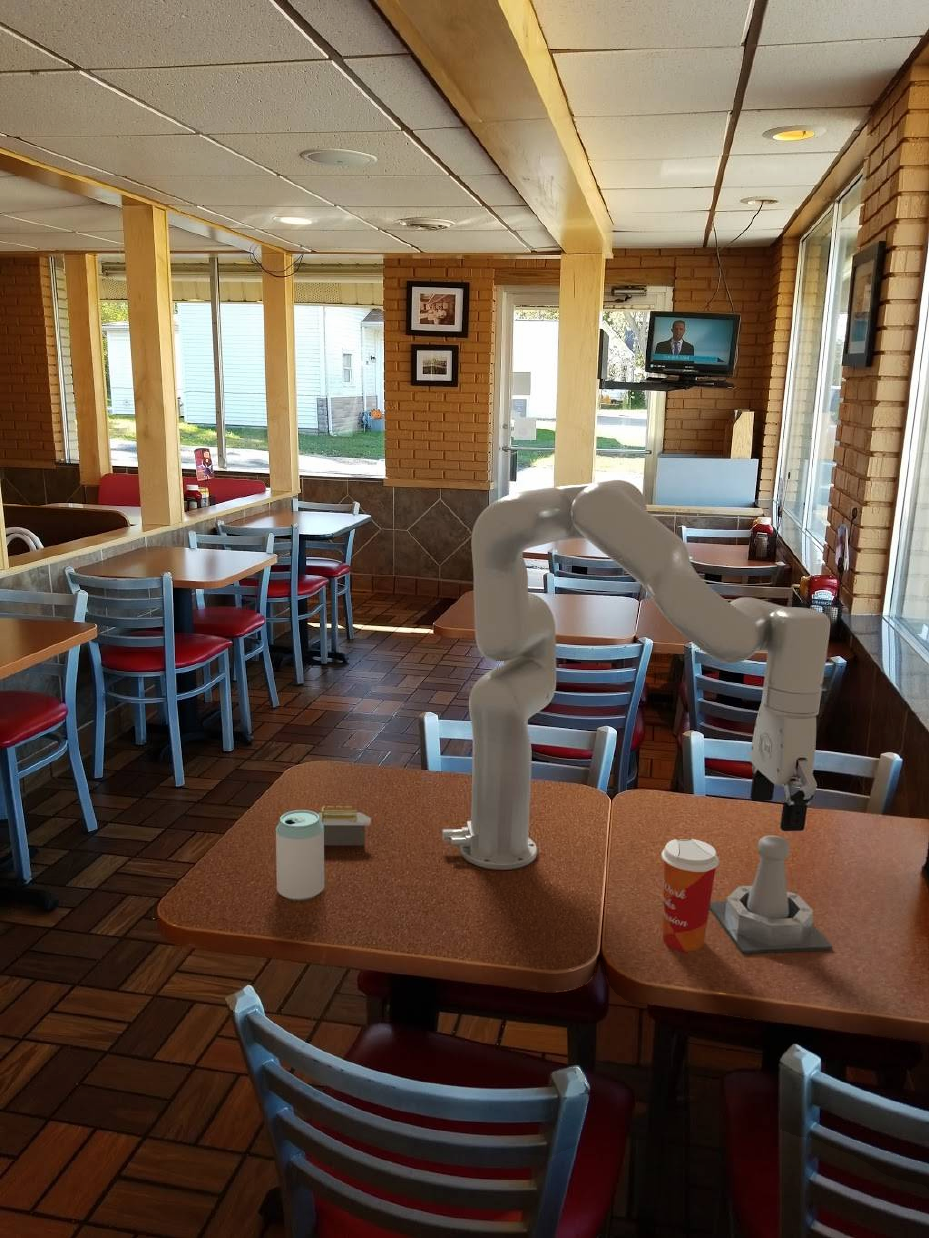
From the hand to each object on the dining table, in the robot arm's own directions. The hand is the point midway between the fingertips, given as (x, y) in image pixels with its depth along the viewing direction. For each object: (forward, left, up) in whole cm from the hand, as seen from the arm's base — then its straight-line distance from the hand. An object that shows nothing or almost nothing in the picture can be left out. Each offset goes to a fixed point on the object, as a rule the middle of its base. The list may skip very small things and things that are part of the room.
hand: (776, 814), depth 135 cm
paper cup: (-13, -3, -18) cm, 22 cm away
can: (-67, +16, -18) cm, 71 cm away
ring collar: (0, 0, -17) cm, 17 cm away
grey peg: (0, 0, -17) cm, 17 cm away
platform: (-60, +32, -18) cm, 71 cm away
